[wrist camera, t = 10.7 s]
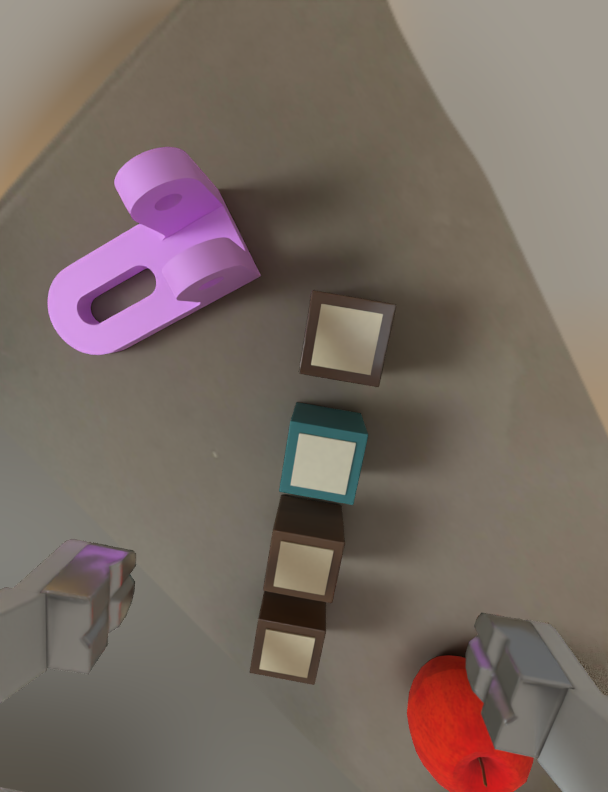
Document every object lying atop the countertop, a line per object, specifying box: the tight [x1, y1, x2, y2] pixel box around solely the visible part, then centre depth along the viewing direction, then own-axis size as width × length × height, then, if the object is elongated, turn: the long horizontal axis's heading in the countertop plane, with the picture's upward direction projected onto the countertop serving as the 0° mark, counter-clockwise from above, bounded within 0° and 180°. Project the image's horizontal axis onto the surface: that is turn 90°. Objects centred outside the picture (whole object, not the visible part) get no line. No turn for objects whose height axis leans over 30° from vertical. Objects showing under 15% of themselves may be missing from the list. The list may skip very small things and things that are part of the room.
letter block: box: [279, 402, 368, 505], centre depth 23 cm, size 4×4×4 cm
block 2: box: [250, 591, 326, 685], centre depth 26 cm, size 4×4×4 cm
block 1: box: [263, 495, 345, 603], centre depth 25 cm, size 4×4×4 cm
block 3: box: [299, 290, 396, 387], centre depth 21 cm, size 4×4×4 cm
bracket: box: [48, 147, 261, 355], centre depth 20 cm, size 13×6×7 cm, turn 116°
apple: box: [407, 655, 533, 792], centre depth 25 cm, size 8×8×7 cm
